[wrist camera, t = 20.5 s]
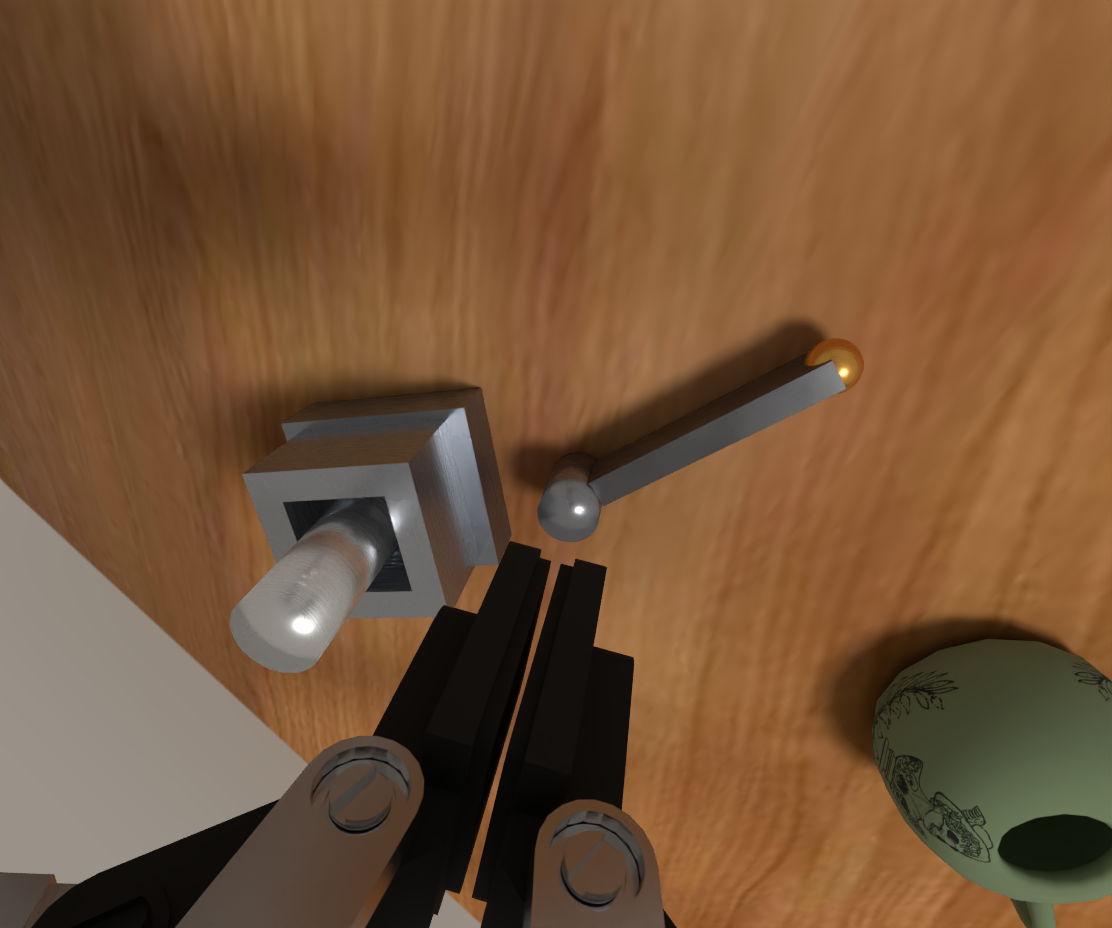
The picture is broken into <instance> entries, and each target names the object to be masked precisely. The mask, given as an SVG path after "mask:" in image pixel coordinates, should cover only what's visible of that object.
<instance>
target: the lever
mask: <svg viewBox="0 0 1112 928" xmlns="http://www.w3.org/2000/svg"><path fill="white" fill-rule="evenodd" d="M863 369H864V360H863V356H862V354H861V352H860V350H859V349H858V348H857V347H856V346H855V345H854V344H853V343H851V342H849V341H847V340H844V339H839V338H833V339H827V340H824V341H822V342H820V343H818V344H816V345H815V346H814V347H813V348H812V349H811V350H810V351H809V352H808V353H806V354H804V355H802V356H800V357H798V358H796V359H794V360H792V361H790V362H788V363H786V364H784V365H782V366H780V367H778V368H776V369H775V370H773V371H771V372H769V373H767V374H765V375H763V376H761V377H759V378H757V379H755V380H753V381H751V382H749V383H747V384H745V385H744V386H742V387H740V388H738V389H736V390H734V391H732V392H730V393H728V394H726V395H724V396H722V397H720V398H718V399H716V400H714V401H712V402H711V403H709V404H707V405H705V406H703V407H701V408H699V409H697V410H695V411H693V412H691V413H689V414H687V415H685V416H683V417H681V418H679V419H678V420H676V421H674V422H672V423H670V424H668V425H666V426H664V427H662V428H660V429H658V430H656V431H654V432H652V433H650V434H648V435H647V436H645V437H643V438H641V439H639V440H637V441H635V442H633V443H631V444H629V445H627V446H625V447H623V448H621V449H619V450H617V451H615V452H614V453H612V454H610V455H608V456H606V457H604V458H602V459H600V460H598V461H597V460H596V459H595V458H593V457H591V456H589V455H586V454H581V453H574V454H569V455H566V456H564V457H563V458H561V459H560V460H559V461H558V462H557V463H556V464H555V466H554V468H553V471H552V473H551V476H550V478H549V481H548V483H547V486H546V488H545V491H544V493H543V496H542V498H541V501H540V503H539V506H538V519H539V522H540V524H541V526H542V528H543V529H544V530H545V531H546V532H547V533H548V534H549V535H550V536H552V537H554V538H556V539H558V540H561V541H565V542H577V541H581V540H583V539H585V538H587V537H589V536H590V535H591V534H592V533H593V532H594V531H595V529H596V527H597V525H598V521H599V517H600V512H601V507H602V504H603V506H605V505H607V504H609V503H611V502H613V501H615V500H617V499H619V498H621V497H623V496H625V495H627V494H629V493H632V492H634V491H636V490H638V489H640V488H642V487H644V486H646V485H648V484H650V483H652V482H654V481H656V480H658V479H661V478H663V477H665V476H667V475H669V474H671V473H673V472H675V471H677V470H679V469H681V468H683V467H685V466H687V465H690V464H692V463H694V462H696V461H698V460H700V459H702V458H704V457H706V456H708V455H710V454H712V453H714V452H716V451H719V450H721V449H723V448H725V447H727V446H729V445H731V444H733V443H735V442H737V441H739V440H741V439H743V438H745V437H748V436H750V435H752V434H754V433H756V432H758V431H760V430H762V429H764V428H766V427H768V426H770V425H772V424H774V423H777V422H779V421H781V420H783V419H785V418H787V417H789V416H791V415H793V414H795V413H797V412H799V411H801V410H803V409H806V408H808V407H810V406H812V405H814V404H816V403H818V402H820V401H822V400H824V399H826V398H828V397H830V396H832V395H835V394H839V393H843V392H845V391H847V390H849V389H851V388H852V387H853V386H854V385H855V384H856V383H857V382H858V381H859V379H860V378H861V376H862V373H863Z"/></svg>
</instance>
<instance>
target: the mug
mask: <svg viewBox="0 0 1112 928" xmlns="http://www.w3.org/2000/svg"><path fill="white" fill-rule="evenodd" d="M871 732H872V743H873V753H874V760H875V762H876V764H877V767H878V769H879V772H880V774H881V776H882V779H883V781H884V783H885V786H886V788H887V790H888V792H889V794H890V795H891V797H892V799H893V801H894V803H895V804H896V806H897V808H898V810H899V811H900V813H901V815H902V817H903V819H904V820H905V822H906V823H907V824H908V825H909V827H910V828H911V829H912V830H913V831H914V832H915V834H916V835H917V836H918V837H919V838H920V839H921V841H922V842H923V843H924V844H925V845H927V846H928V847H929V848H930V849H931V850H932V851H933V852H934V853H935V854H936V855H937V856H938V857H940V858H941V859H942V860H943V861H944V862H946V863H947V864H948V865H949V866H950V867H952V868H953V869H954V870H955V871H956V872H958V873H959V874H960V875H961V876H962V877H964V878H965V879H967V880H969V881H971V882H973V883H975V884H977V885H979V886H981V887H983V888H986V889H988V890H991V891H994V892H996V893H999V894H1002V895H1004V896H1007V897H1010V898H1011V900H1012V902H1013V904H1014V907H1015V909H1016V911H1017V913H1018V915H1019V917H1020V919H1021V920H1022V922H1023V923H1024V925H1025V926H1026V927H1027V928H1056V920H1055V914H1054V909H1053V904H1064V903H1074V902H1084V901H1094V900H1097V899H1100V898H1103V897H1106V896H1109V895H1111V894H1112V681H1111V680H1109V679H1108V678H1107V677H1106V676H1104V675H1103V674H1102V673H1101V672H1099V671H1098V670H1097V669H1096V668H1095V667H1093V666H1092V665H1091V664H1090V663H1088V662H1087V661H1086V660H1085V659H1084V658H1082V657H1079V656H1077V655H1074V654H1071V653H1069V652H1066V651H1063V650H1060V649H1058V648H1055V647H1052V646H1050V645H1047V644H1044V643H1042V642H1039V641H1020V640H1000V639H985V640H981V641H976V642H972V643H968V644H963V645H959V646H955V647H950V648H946V649H942V650H938V651H936V652H935V653H933V654H931V655H929V656H928V657H926V658H924V659H922V660H921V661H919V662H917V663H915V664H913V665H912V666H910V667H908V668H906V669H905V670H903V671H901V672H900V673H899V674H898V675H897V676H896V678H895V679H894V680H893V681H892V683H891V684H890V685H889V686H888V688H887V689H886V690H885V691H884V693H883V694H882V695H881V696H880V698H879V699H878V700H877V704H876V709H875V714H874V720H873V725H872V730H871Z"/></svg>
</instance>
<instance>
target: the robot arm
mask: <svg viewBox="0 0 1112 928" xmlns="http://www.w3.org/2000/svg"><path fill="white" fill-rule="evenodd" d="M540 554H541V549H538V548H534V547H531V546H527V545H523V544H519V543H516V542H512V541H510V542H509V544H508V546H507V548H506V550H505V553H504V555H503V557H502V559H501V562H500V564H499V566H498V568H497V571H496V573H495V575H494V578H493V580H492V582H491V584H490V587H489V589H488V591H487V593H486V596H485V598H484V600H483V603H482V605H481V607H480V609H479V612H478V614H475V613H471V612H467V611H464V610H460V609H457V608H453V607H449V606H446V605H443V606H442V607H441V608H440V610H439V611H438V613H437V615H436V617H435V619H434V620H433V622H432V624H431V626H430V628H429V630H428V632H427V634H426V636H425V638H424V639H423V641H422V643H421V645H420V647H419V649H418V651H417V653H416V655H415V656H414V658H413V660H412V662H411V664H410V666H409V668H408V670H407V672H406V673H405V675H404V677H403V679H402V681H401V683H400V685H399V687H398V689H397V690H396V692H395V694H394V696H393V698H392V700H391V702H390V704H389V706H388V707H387V709H386V711H385V713H384V715H383V717H382V719H381V721H380V723H379V724H378V726H377V728H376V730H375V732H374V734H373V736H357V737H353V738H349V739H345V740H341V741H339V742H337V743H336V744H334V745H332V746H330V747H328V748H326V749H324V750H323V751H322V752H321V753H320V754H319V755H318V756H317V757H316V758H314V759H313V760H312V761H311V762H310V763H309V764H308V766H307V767H306V768H305V769H304V770H303V772H302V773H301V774H300V775H299V777H298V778H297V779H296V780H295V781H294V783H293V784H292V785H291V786H290V788H289V789H288V790H287V791H286V793H285V794H284V795H283V796H282V797H281V799H279V800H276V801H274V802H271V803H269V804H266V805H264V806H262V807H259V808H257V809H254V810H252V811H249V812H247V813H245V814H242V815H240V816H237V817H235V818H232V819H230V820H227V821H225V822H223V823H220V824H218V825H215V826H213V827H210V828H208V829H205V830H203V831H200V832H198V833H196V834H193V835H191V836H188V837H186V838H183V839H181V840H178V841H176V842H174V843H171V844H169V845H166V846H164V847H161V848H159V849H157V850H154V851H152V852H149V853H147V854H145V855H142V856H139V857H137V858H135V859H132V860H130V861H127V862H125V863H122V864H120V865H117V866H115V867H113V868H110V869H108V870H105V871H103V872H100V873H98V874H96V875H95V876H92V877H91V878H89V879H87V880H85V881H83V882H81V883H79V884H62V883H57V882H56V879H55V875H53V874H27V873H1V872H0V928H429V926H430V923H431V920H432V917H433V914H436V915H438V912H439V909H440V906H441V903H442V899H443V896H444V893H445V890H449V891H452V892H455V893H458V894H460V891H461V888H462V885H463V882H464V879H465V875H466V872H467V868H468V865H469V862H470V858H471V855H472V852H473V848H474V845H475V841H476V838H477V835H478V831H479V828H480V825H481V821H482V818H483V814H484V811H485V808H486V804H487V801H488V798H489V794H490V791H491V787H492V784H493V781H494V777H495V774H496V770H497V767H498V764H499V760H500V757H501V754H502V750H503V747H504V743H505V740H506V737H507V733H508V730H509V727H510V723H511V720H512V716H513V713H514V710H515V706H516V703H517V700H518V696H519V693H520V689H521V685H522V681H523V678H524V673H525V669H526V665H527V661H528V657H529V652H530V648H531V644H532V640H533V636H534V632H535V627H536V623H537V619H538V615H539V611H540V606H541V602H542V598H543V594H544V590H545V585H546V581H547V577H548V573H549V569H550V564H551V561H549V560H546V559H542V558H540ZM606 569H607V567H605V566H601V565H598V564H594V563H590V562H587V561H583V560H579V559H575V563H574V567H572V566H568V565H564V564H561V565H560V569H559V572H558V576H557V579H556V583H555V586H554V590H553V593H552V597H551V600H550V604H549V607H548V611H547V614H546V617H545V621H544V624H543V628H542V631H541V635H540V638H539V642H538V645H537V649H536V652H535V656H534V659H533V663H532V666H531V670H530V673H529V677H528V680H527V683H526V687H525V690H524V694H523V697H522V701H521V704H520V708H519V711H518V715H517V718H516V722H515V725H514V729H513V732H512V736H511V739H510V743H509V747H508V750H507V754H506V758H505V762H504V766H503V770H502V774H501V778H500V782H499V786H498V790H497V795H496V799H495V803H494V807H493V811H492V815H491V820H490V824H489V828H488V832H487V836H486V840H485V845H484V849H483V853H482V857H481V861H480V865H479V870H478V874H477V878H476V882H475V886H474V891H473V895H472V898H475V899H478V900H481V901H484V902H487V905H486V908H485V912H484V916H483V920H482V924H481V928H676V926H675V925H674V923H673V922H672V921H671V919H670V918H669V916H668V915H667V914H666V912H665V911H664V909H663V905H662V896H661V888H660V879H659V870H658V865H657V861H656V857H655V853H654V849H653V846H652V845H651V843H650V841H649V839H648V838H647V836H646V834H645V832H644V831H643V829H642V828H641V827H640V826H639V825H638V824H637V823H636V822H635V821H634V820H633V819H632V818H631V817H630V816H629V815H628V814H626V813H625V812H623V811H622V800H623V788H624V777H625V765H626V753H627V742H628V730H629V718H630V707H631V695H632V683H633V672H634V659H633V657H630V656H626V655H623V654H619V653H616V652H612V651H608V650H605V649H601V648H598V647H594V646H593V645H594V639H595V634H596V628H597V622H598V616H599V610H600V605H601V599H602V593H603V587H604V581H605V576H606Z"/></svg>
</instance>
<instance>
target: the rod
mask: <svg viewBox="0 0 1112 928" xmlns="http://www.w3.org/2000/svg"><path fill="white" fill-rule="evenodd" d="M397 546H398V541H397V537H396V534H395V531H394V527H393V524H392V520H391V517H390V513H389V510H388V507H387V503H386V500H385V496H381V497H363V498H345V499H338V500H337V501H336V502H335V503H334V504H333V505H332V506H331V508H330V509H329V510H328V511H327V512H326V513H325V514H324V515H323V516H322V517H321V518H320V519H319V520H318V521H317V522H316V523H315V524H314V525H313V526H312V527H311V528H310V529H309V530H308V531H307V532H306V533H305V534H304V536H303V537H302V538H301V539H300V540H299V541H298V542H297V543H296V544H295V545H294V546H293V547H292V548H291V549H290V550H289V551H288V552H287V553H286V554H285V555H284V556H283V557H282V558H281V559H280V560H279V561H278V563H277V564H276V565H275V566H274V567H273V568H272V569H271V570H270V571H269V572H268V573H267V574H266V575H265V576H264V577H263V578H262V579H261V580H260V581H259V582H258V583H257V584H256V585H255V586H254V587H253V588H252V590H251V591H250V592H249V593H248V594H247V595H246V596H245V597H244V598H243V599H242V600H241V601H240V602H239V603H238V604H237V605H236V606H235V607H234V609H233V611H232V613H231V617H230V628H231V632H232V635H233V637H234V639H235V641H236V642H237V644H238V645H239V647H240V648H241V649H242V650H243V651H244V653H245V654H247V655H248V656H249V657H250V658H251V659H253V660H254V661H255V662H257V663H259V664H260V665H262V666H264V667H267V668H269V669H272V670H275V671H279V672H285V673H296V672H301V671H305V670H307V669H309V668H311V667H312V666H313V665H314V664H315V663H316V662H317V661H318V659H319V658H320V657H321V655H322V654H323V652H324V651H325V649H326V648H327V646H328V645H329V644H330V642H331V641H332V639H333V638H334V636H335V635H336V633H337V632H338V631H339V629H340V628H341V626H342V625H343V623H344V622H345V621H346V619H347V618H348V616H349V615H350V613H351V612H352V610H353V609H354V608H355V606H356V605H357V603H358V602H359V600H360V599H361V597H362V596H363V595H364V593H365V592H366V590H367V589H368V587H369V586H370V584H371V583H372V582H373V580H374V579H375V577H376V576H377V574H378V573H379V572H380V570H381V569H382V567H383V566H384V564H385V563H386V561H387V560H388V559H389V557H390V556H391V554H392V553H393V551H394V550H395V548H396V547H397Z"/></svg>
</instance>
